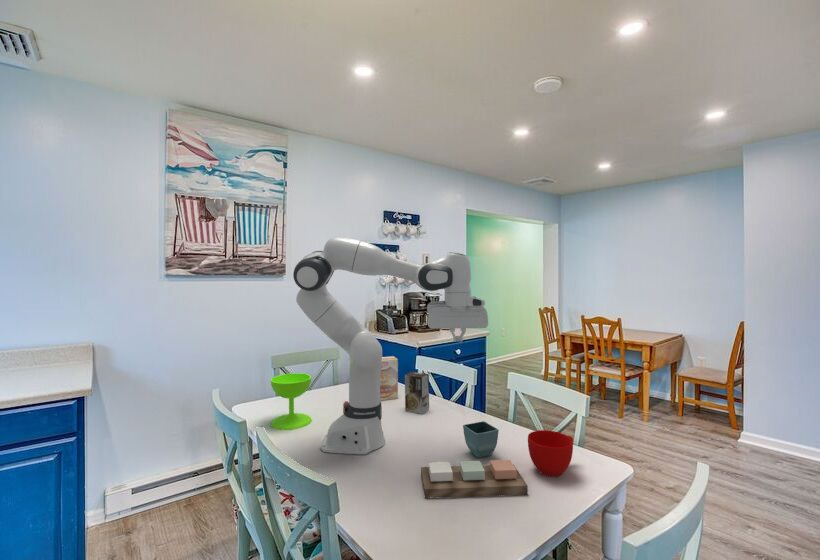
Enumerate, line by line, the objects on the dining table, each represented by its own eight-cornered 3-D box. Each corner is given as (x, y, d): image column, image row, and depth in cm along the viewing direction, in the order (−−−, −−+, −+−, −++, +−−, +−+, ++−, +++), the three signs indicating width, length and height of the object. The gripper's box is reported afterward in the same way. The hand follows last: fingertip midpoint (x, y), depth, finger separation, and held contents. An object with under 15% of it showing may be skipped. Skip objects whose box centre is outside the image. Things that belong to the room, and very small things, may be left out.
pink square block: (495, 488, 110) (495, 470, 110) (489, 477, 116) (489, 460, 116) (516, 487, 110) (516, 469, 110) (510, 476, 116) (510, 459, 116)
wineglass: (291, 432, 150) (291, 385, 150) (262, 425, 157) (261, 380, 157) (320, 419, 164) (319, 375, 164) (291, 412, 172) (291, 371, 171)
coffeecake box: (368, 402, 185) (368, 361, 184) (364, 398, 191) (364, 358, 191) (398, 398, 190) (398, 358, 190) (393, 394, 197) (393, 355, 196)
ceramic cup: (590, 471, 120) (590, 438, 120) (554, 487, 111) (554, 451, 111) (554, 454, 131) (554, 424, 131) (518, 468, 122) (518, 435, 122)
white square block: (431, 490, 109) (430, 472, 109) (428, 479, 115) (428, 462, 115) (452, 489, 109) (452, 472, 109) (449, 478, 115) (449, 461, 115)
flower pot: (462, 450, 134) (462, 424, 134) (484, 446, 137) (484, 420, 137) (476, 462, 126) (476, 434, 126) (499, 456, 129) (499, 429, 129)
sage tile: (463, 489, 109) (463, 471, 109) (459, 478, 115) (459, 461, 115) (484, 488, 109) (484, 471, 109) (479, 477, 115) (479, 460, 115)
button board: (424, 498, 106) (424, 489, 106) (421, 475, 118) (421, 467, 117) (527, 494, 107) (527, 485, 107) (513, 472, 119) (513, 464, 119)
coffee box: (429, 410, 174) (429, 373, 174) (422, 414, 168) (422, 377, 168) (412, 406, 179) (412, 371, 179) (404, 410, 173) (404, 374, 173)
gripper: (428, 301, 130) (428, 343, 130) (489, 301, 131) (489, 342, 131) (426, 300, 136) (426, 340, 136) (484, 299, 137) (484, 339, 137)
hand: (457, 341), depth 134 cm, fingers closed
